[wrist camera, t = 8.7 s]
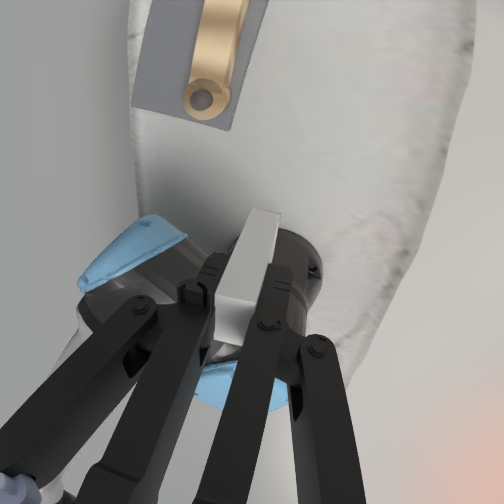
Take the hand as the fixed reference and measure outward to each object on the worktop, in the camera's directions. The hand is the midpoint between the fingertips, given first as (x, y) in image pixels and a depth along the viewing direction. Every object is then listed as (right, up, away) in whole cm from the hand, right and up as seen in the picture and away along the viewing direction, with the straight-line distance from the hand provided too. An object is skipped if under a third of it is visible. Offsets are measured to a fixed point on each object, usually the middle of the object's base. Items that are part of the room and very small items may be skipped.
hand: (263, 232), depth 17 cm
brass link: (-4, +23, +13) cm, 27 cm away
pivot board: (-6, +28, +12) cm, 31 cm away
